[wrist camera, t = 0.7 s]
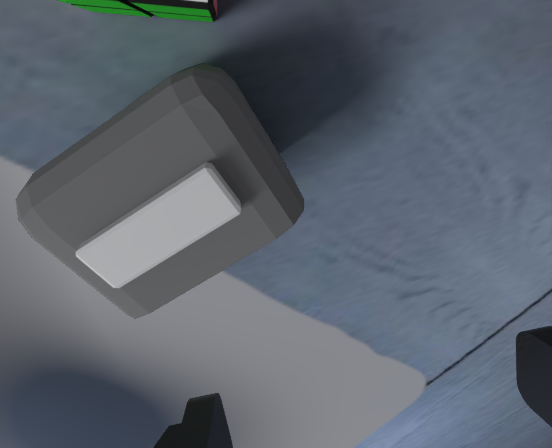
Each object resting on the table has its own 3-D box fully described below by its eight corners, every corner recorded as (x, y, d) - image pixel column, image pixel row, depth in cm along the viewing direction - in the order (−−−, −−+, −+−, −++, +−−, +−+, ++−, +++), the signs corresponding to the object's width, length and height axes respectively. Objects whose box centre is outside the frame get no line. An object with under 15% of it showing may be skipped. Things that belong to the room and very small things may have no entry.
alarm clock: (155, 232, 36) (113, 344, 22) (74, 148, 30) (-47, 227, 17) (280, 154, 34) (317, 224, 20) (215, 48, 28) (207, 46, 15)
